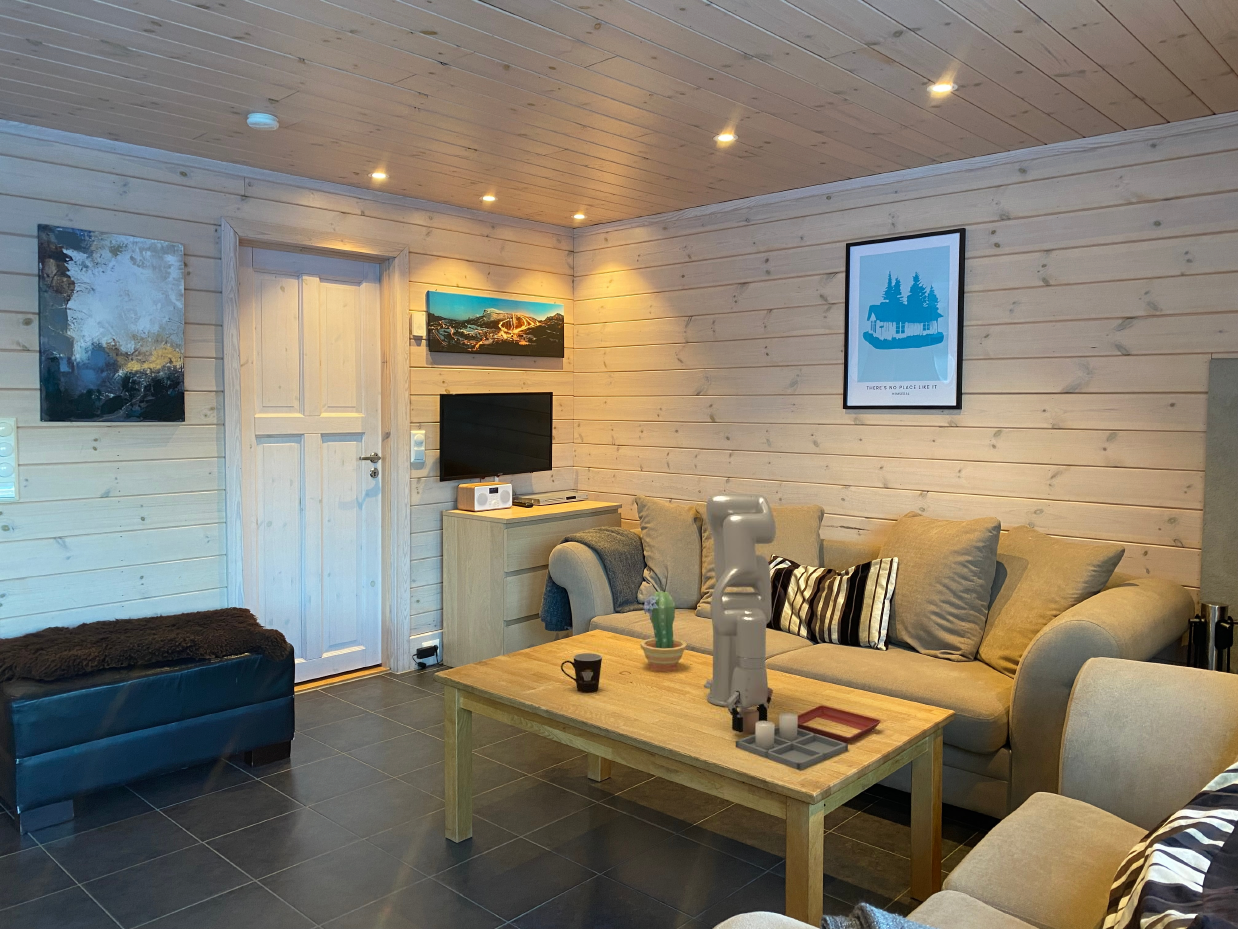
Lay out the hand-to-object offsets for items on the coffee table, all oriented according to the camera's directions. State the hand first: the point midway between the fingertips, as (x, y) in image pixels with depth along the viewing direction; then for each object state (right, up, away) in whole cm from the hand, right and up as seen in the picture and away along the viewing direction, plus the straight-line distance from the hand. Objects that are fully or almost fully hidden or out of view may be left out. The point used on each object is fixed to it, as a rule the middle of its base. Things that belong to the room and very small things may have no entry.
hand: (749, 727), depth 237 cm
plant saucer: (+23, -3, +3) cm, 23 cm away
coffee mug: (-45, 0, +38) cm, 59 cm away
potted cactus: (-19, +1, +62) cm, 65 cm away
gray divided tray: (+9, -3, -12) cm, 15 cm away
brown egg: (0, -2, 0) cm, 2 cm away
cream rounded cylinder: (+9, -1, -6) cm, 11 cm away
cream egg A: (+2, -2, -12) cm, 12 cm away
